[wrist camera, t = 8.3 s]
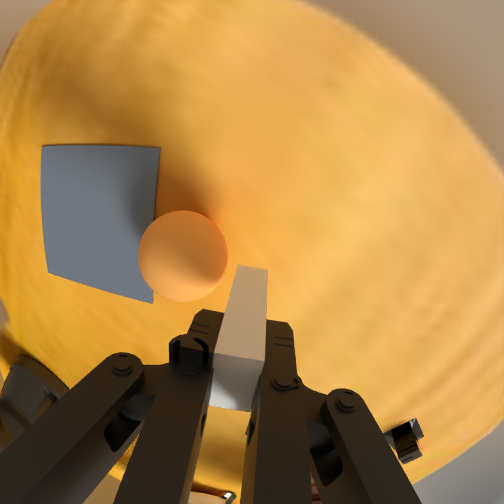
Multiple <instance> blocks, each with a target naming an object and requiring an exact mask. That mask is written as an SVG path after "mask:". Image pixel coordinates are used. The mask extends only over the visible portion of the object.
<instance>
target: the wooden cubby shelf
mask: <svg viewBox="0 0 504 504" xmlns="http://www.w3.org/2000/svg"><path fill="white" fill-rule="evenodd" d="M311 488H312V504H322V502H321V499H320V497H319V494H318V491H317V488H316V486H315V483H314V480H313V477H311Z"/></svg>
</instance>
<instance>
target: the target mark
mask: <svg viewBox="0 0 504 504" xmlns="http://www.w3.org/2000/svg"><path fill="white" fill-rule="evenodd" d="M160 149H161V148H154V147H137V146H112V145H62V146H42V155H41V210H42V226H43V237H44V246H45V254H46V261H47V268H48V273H51V274H54V275H57V276H60V277H63V278H66V279H69V280H72V281H75V282H78V283H81V284H84V285H87V286H91V287H94V288H97V289H101V290H104V291H107V292H111V293H114V294H118V295H121V296H125V297H129V298H132V299H136V300H140V301H144V302H147V303H151V304H152V303H153V290H152V289H151V288H150V287H149V286H148V284H147V283H146V281H145V280H144V278H143V276H142V274H141V271H140V268H139V264H138V249H139V244H140V241H141V238H142V236H143V234H144V232H145V231H146V229H147V228H148V227H149V225H150V224H151V223H152V222H153V221H154V217H155V201H156V188H157V177H158V167H159V157H160Z"/></svg>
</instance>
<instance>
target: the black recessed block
mask: <svg viewBox="0 0 504 504" xmlns="http://www.w3.org/2000/svg"><path fill="white" fill-rule="evenodd" d="M383 435H384V436H385V438H386V440H387V441H388V443H389V444H390V445H391V446H392V448H393V449H394V450H396V452H397V455H398V459H399V460H400V461H401V462H402V463H403V464H406V463H408V462H410V461H413V460H415V459H417V458H419V457H421V456H422V452H421V449H420V446H419V443H418V440H419V439H421V438H422V437H424V435H423V433H422V430H421V428H420V426H419V424H418V421H417V419H416V418H414V419H412V420H410V421H408V422H406V423H404V424H402V425H400V426H398V427H396V428H394V429H392V430H390V431H387V432H385V433H383Z"/></svg>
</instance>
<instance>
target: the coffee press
mask: <svg viewBox="0 0 504 504" xmlns="http://www.w3.org/2000/svg"><path fill="white" fill-rule="evenodd" d="M230 496H231V497H230ZM228 497H230V498H229V499H228V500H225V499H227V498H228ZM235 498H236V494H234V493H232V492H227V493H226V494H225V495H224V496H222V497H217V496H214V495H209V494H205V493H199V492H194V491H192V490H191V491H190V496H189V500H188V504H231V503H232V501H233V500H234V499H235Z"/></svg>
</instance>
